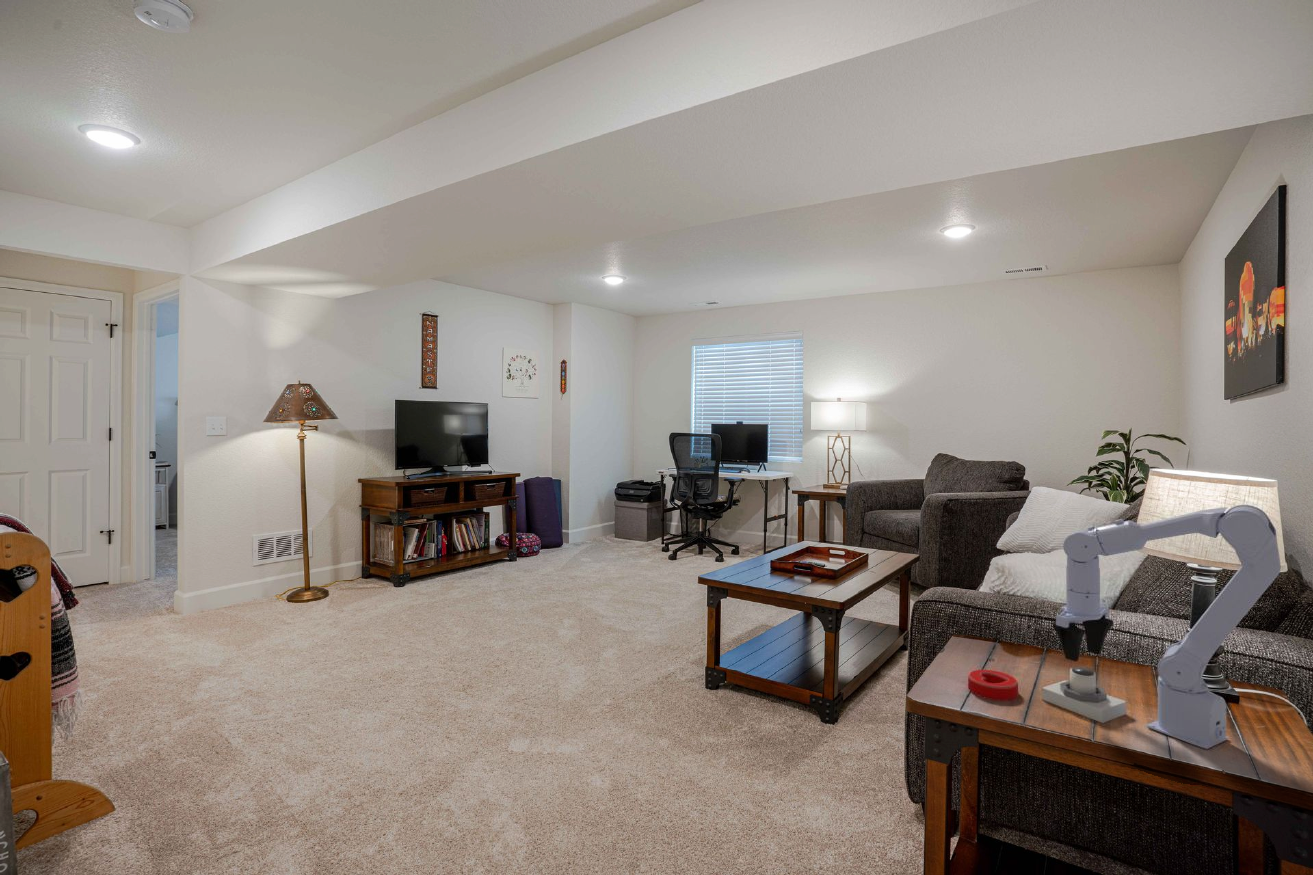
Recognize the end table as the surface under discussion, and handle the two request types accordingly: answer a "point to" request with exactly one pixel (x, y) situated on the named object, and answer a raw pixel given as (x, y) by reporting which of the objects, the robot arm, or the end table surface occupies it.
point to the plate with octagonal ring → (1085, 702)
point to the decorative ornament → (993, 684)
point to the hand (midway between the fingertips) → (1083, 656)
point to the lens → (1083, 680)
